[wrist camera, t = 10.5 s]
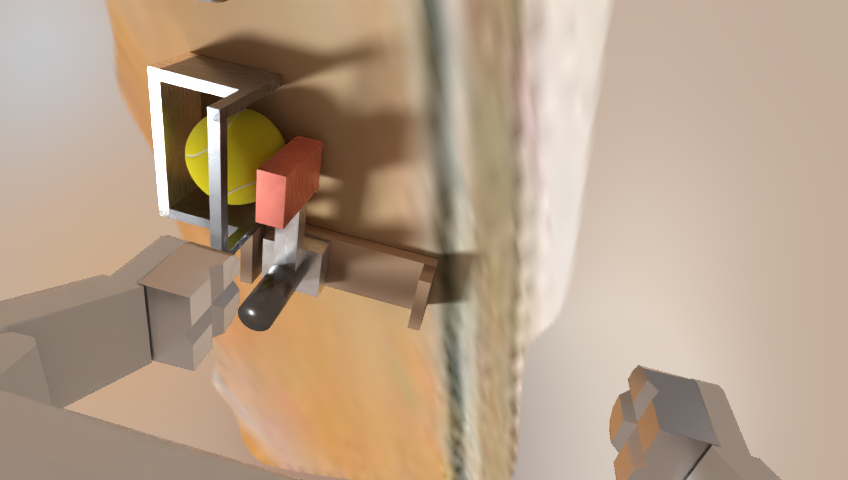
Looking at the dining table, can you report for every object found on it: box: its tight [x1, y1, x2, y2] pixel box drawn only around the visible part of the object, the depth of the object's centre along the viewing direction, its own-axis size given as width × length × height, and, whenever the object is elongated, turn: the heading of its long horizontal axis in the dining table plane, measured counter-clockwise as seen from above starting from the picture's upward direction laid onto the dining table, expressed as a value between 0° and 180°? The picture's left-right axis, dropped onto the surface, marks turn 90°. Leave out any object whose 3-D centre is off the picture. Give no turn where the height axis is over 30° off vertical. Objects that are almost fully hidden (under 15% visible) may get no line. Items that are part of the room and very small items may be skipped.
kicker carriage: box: [238, 135, 330, 331], centre depth 40 cm, size 13×5×9 cm, turn 169°
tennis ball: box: [185, 108, 286, 205], centre depth 39 cm, size 7×7×7 cm
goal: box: [147, 52, 282, 254], centre depth 38 cm, size 12×7×9 cm, turn 169°
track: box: [240, 224, 438, 330], centre depth 45 cm, size 5×16×4 cm, turn 79°
